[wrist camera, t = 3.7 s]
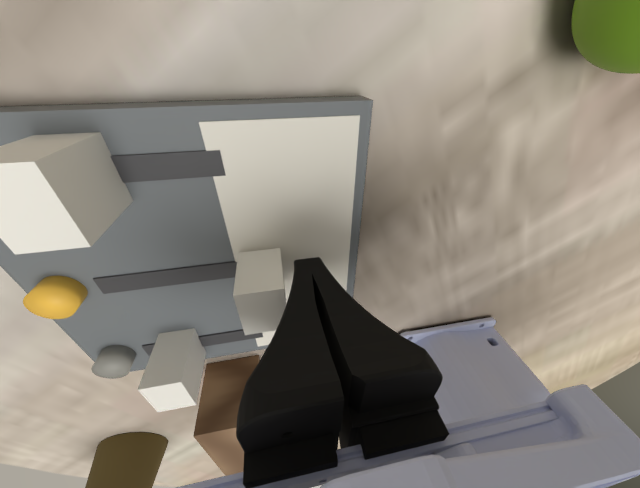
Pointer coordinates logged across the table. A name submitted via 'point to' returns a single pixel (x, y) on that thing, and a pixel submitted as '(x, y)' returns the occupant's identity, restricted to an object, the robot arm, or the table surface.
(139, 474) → the cork
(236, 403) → the block
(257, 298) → the block
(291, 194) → the breaker panel
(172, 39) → the table surface
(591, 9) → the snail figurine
